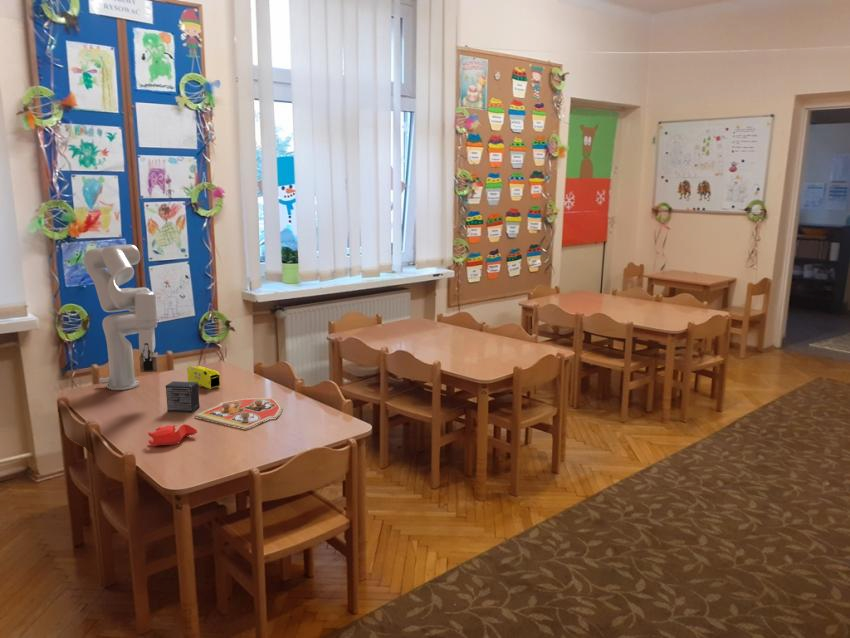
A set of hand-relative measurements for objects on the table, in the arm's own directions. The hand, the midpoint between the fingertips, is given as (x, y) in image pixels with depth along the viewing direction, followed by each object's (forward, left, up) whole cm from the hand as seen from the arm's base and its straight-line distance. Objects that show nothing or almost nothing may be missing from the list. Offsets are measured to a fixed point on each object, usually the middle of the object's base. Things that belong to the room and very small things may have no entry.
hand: (149, 367), depth 259 cm
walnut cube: (0, 0, -1) cm, 1 cm away
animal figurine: (+11, -41, -15) cm, 45 cm away
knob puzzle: (+36, -19, -16) cm, 44 cm away
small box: (+12, -10, -15) cm, 22 cm away
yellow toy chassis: (+19, +19, -15) cm, 31 cm away
